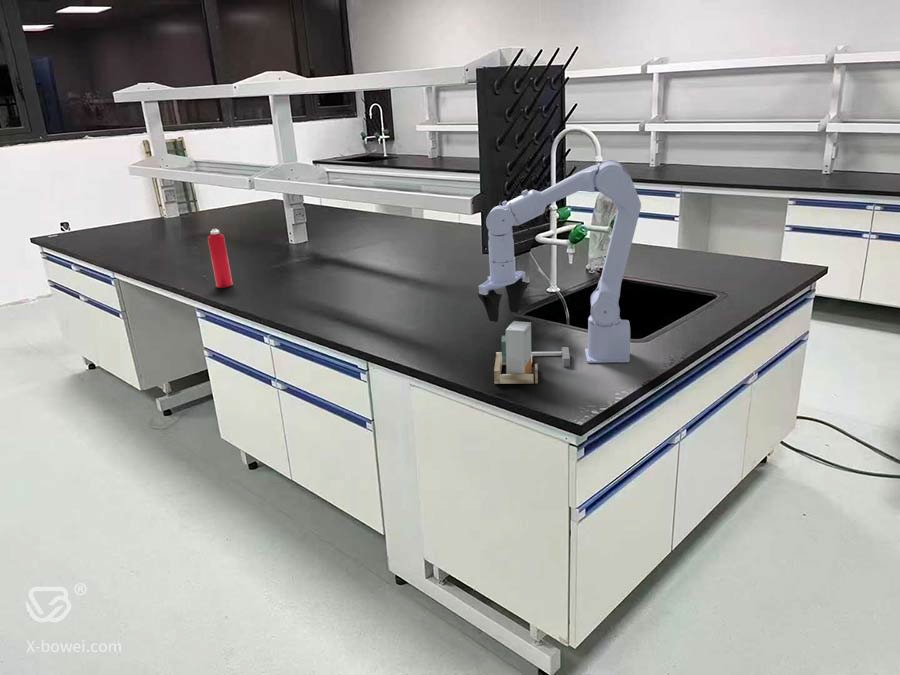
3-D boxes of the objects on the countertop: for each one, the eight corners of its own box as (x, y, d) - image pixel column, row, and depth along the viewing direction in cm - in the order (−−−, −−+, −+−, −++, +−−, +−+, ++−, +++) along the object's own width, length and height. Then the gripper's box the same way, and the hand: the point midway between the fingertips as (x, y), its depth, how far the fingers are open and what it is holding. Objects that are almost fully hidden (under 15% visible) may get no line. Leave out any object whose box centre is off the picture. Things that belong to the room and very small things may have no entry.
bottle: (227, 287, 232) (217, 230, 225) (213, 287, 233) (202, 230, 226) (235, 283, 237) (225, 227, 230) (221, 283, 238) (211, 227, 231)
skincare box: (525, 383, 146) (524, 331, 142) (506, 381, 148) (504, 329, 143) (532, 372, 151) (531, 321, 147) (514, 370, 153) (512, 320, 149)
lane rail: (568, 354, 159) (568, 346, 159) (569, 366, 153) (569, 358, 152) (496, 355, 161) (496, 347, 161) (494, 367, 155) (494, 359, 154)
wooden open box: (537, 356, 159) (536, 334, 157) (537, 383, 145) (537, 359, 143) (497, 356, 160) (496, 334, 158) (494, 383, 146) (493, 359, 144)
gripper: (508, 251, 161) (510, 305, 165) (467, 264, 151) (470, 321, 156) (532, 254, 156) (533, 310, 161) (491, 269, 146) (494, 327, 151)
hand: (504, 316), depth 158 cm, fingers open, 7 cm apart
